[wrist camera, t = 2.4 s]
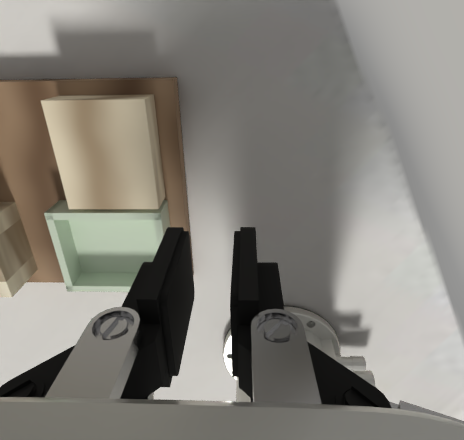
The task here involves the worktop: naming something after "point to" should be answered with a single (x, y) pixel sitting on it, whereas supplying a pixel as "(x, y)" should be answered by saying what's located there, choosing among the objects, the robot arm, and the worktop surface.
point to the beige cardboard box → (107, 150)
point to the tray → (104, 244)
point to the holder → (14, 251)
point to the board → (45, 165)
